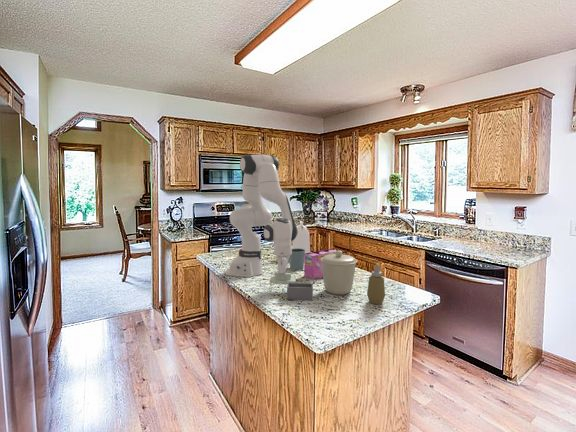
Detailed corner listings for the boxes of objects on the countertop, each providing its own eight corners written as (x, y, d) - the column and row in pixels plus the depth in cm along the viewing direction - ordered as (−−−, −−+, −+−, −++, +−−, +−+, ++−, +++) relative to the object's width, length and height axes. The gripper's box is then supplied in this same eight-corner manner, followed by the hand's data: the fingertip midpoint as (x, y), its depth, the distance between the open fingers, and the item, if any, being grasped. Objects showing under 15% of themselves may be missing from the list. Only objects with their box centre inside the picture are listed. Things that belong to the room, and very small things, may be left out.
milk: (291, 255, 247) (292, 220, 244) (307, 255, 248) (307, 220, 246) (294, 259, 235) (294, 222, 232) (310, 259, 237) (310, 222, 234)
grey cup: (287, 269, 209) (287, 251, 207) (290, 265, 218) (291, 247, 217) (303, 271, 206) (303, 252, 205) (306, 266, 216) (306, 248, 215)
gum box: (333, 269, 211) (333, 248, 209) (342, 272, 204) (342, 250, 203) (303, 275, 196) (304, 253, 195) (312, 279, 190) (313, 255, 189)
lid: (269, 284, 166) (269, 275, 165) (271, 279, 173) (271, 271, 173) (295, 284, 165) (295, 275, 165) (295, 280, 173) (295, 271, 172)
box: (287, 299, 157) (287, 287, 157) (287, 294, 164) (287, 282, 164) (312, 300, 157) (312, 288, 156) (312, 295, 164) (312, 283, 163)
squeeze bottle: (364, 299, 158) (365, 262, 156) (381, 299, 159) (382, 262, 157) (370, 306, 150) (371, 266, 148) (387, 305, 151) (389, 266, 149)
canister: (318, 285, 179) (319, 246, 176) (353, 286, 178) (354, 247, 176) (321, 297, 161) (322, 254, 158) (359, 298, 160) (360, 254, 158)
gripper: (288, 255, 157) (287, 284, 158) (290, 247, 177) (290, 272, 179) (274, 255, 157) (274, 284, 159) (278, 246, 178) (278, 272, 179)
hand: (282, 277), depth 169 cm, fingers closed on lid, 3 cm apart
